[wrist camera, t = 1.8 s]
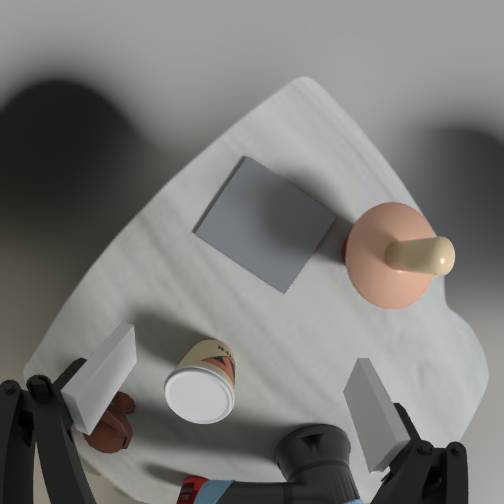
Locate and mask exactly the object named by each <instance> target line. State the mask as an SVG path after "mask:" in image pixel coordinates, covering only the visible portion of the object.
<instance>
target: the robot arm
mask: <svg viewBox="0 0 504 504" xmlns="http://www.w3.org/2000/svg"><path fill="white" fill-rule="evenodd" d="M136 362H137V358H136V346H135V331H134V325H132V324H128V323H125V322H122V323H121V324H120V325H119V327H118V328H117V329H116V330H115V331H114V332H113V333H112V334H111V335H110V336H109V337H108V338H107V339H106V340H105V342H104V343H103V344H102V345H101V346H100V347H99V348H98V349H97V350H96V351H95V352H94V354H93V355H92V356H91V357H90V358H89V359H88V360H86V359H84V358H79V359H77V360H75V361H73V362H72V364H71V365H70V366H69V367H68V368H67V369H66V370H65V371H64V373H62V374H61V375H60V376H59V377H58V379H57V380H56V381H55V382H54V383H53V384H52V383H51V380H50V379H49V378H48V377H47V376H44V375H34V376H32V377H30V378H29V379H28V381H27V383H26V386H27V388H28V391H25V390H22V389H21V387H20V385H19V384H18V382H16V381H14V380H6V381H4V382H3V383H1V385H0V504H33V470H34V453H35V444H36V442H37V448H38V454H39V459H40V464H41V469H42V473H43V477H44V481H45V485H46V488H47V492H48V495H49V498H50V502H51V504H96V501H95V499H94V497H93V494H92V492H91V489H90V487H89V484H88V482H87V479H86V476H85V474H84V471H83V468H82V465H81V462H80V459H79V456H78V452H77V449H76V445H75V442H74V438H73V434H72V431H71V429H70V427H71V425H72V424H73V423H74V425H75V427H76V429H77V430H79V431H81V432H83V433H85V434H87V435H89V436H90V434H91V433H92V431H93V429H94V428H95V426H96V424H97V423H98V421H99V420H100V418H101V416H102V415H103V413H104V412H105V410H106V408H107V407H108V405H109V404H110V402H111V401H112V399H113V397H114V396H115V394H116V393H117V391H118V390H119V388H120V387H121V385H122V383H123V382H124V380H125V379H126V377H127V376H128V374H129V373H130V371H131V370H132V368H133V367H134V365H135V364H136ZM343 393H344V396H345V399H346V401H347V404H348V407H349V410H350V413H351V416H352V419H353V422H354V425H355V428H356V431H357V434H358V438H359V441H360V444H361V447H362V450H363V453H364V457H365V460H366V463H367V466H368V470H369V473H370V474H372V473H378V472H383V471H384V470H385V469H386V468H387V467H388V466H389V467H390V472H389V473H388V474H387V475H386V476H385V477H384V478H383V479H382V480H381V481H383V480H384V479H385V480H384V481H383V483H382V485H381V487H380V488H379V490H378V492H377V493H376V495H375V497H374V498H373V500H372V502H371V503H370V504H468V466H467V454H466V449H465V447H464V446H463V445H462V444H461V443H459V442H451V443H449V445H448V446H447V447H446V448H434V447H433V445H432V444H431V443H430V442H428V441H425V440H421V438H420V436H419V434H418V432H417V431H416V429H415V427H414V425H413V423H412V422H411V419H410V417H409V416H408V414H407V412H406V410H405V408H404V407H403V406H401V405H400V404H399V403H392V401H391V399H390V397H389V395H388V393H387V391H386V389H385V387H384V385H383V384H382V382H381V380H380V378H379V376H378V374H377V372H376V371H375V369H374V367H373V365H372V363H371V362H370V360H369V358H358V359H357V361H356V364H355V366H354V368H353V371H352V373H351V375H350V378H349V380H348V382H347V385H346V387H345V389H344V391H343ZM350 449H351V446H350V442H349V439H348V437H347V435H346V433H345V432H344V431H343V430H342V429H340V428H338V427H335V426H331V425H313V426H308V427H304V428H301V429H298V430H296V431H294V432H292V433H290V434H289V435H287V436H286V437H285V438H283V439H282V440H281V441H280V443H279V444H278V446H277V448H276V452H275V455H276V463H277V466H278V467H279V469H280V470H281V472H282V474H283V476H284V478H285V479H286V481H287V482H240V481H236V480H231V481H228V480H209V481H207V482H206V483H204V484H203V485H202V487H201V488H200V490H199V492H198V494H197V496H196V499H195V501H194V504H363V502H362V500H361V499H360V496H359V493H358V490H357V488H356V485H355V482H354V479H353V477H352V474H351V471H350V468H349V454H350Z"/></svg>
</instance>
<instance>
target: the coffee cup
mask: <svg viewBox="0 0 504 504" xmlns="http://www.w3.org/2000/svg"><path fill="white" fill-rule="evenodd" d="M234 384H235V357H234V354H233V352H232V351H231V349H230V348H229V347H228V346H227V345H225V344H224V343H222V342H220V341H217V340H203V341H200V342H198V343H197V344H195V345H194V346H193V347H192V349H191V350H190V351H189V352H188V353H187V354H186V356H185V357H184V358H183V359H182V361H181V362H180V363H179V364H178V366H177V367H176V368H175V369H174V370H173V371H172V372H171V373H170V374H169V375H168V377H167V379H166V381H165V384H164V394H165V398H166V401H167V403H168V405H169V406H170V408H171V409H172V410H173V411H174V412H175V413H176V414H177V415H179V416H180V417H182V418H183V419H185V420H187V421H190V422H193V423H198V424H210V423H215V422H218V421H220V420H221V419H223V418H224V417H226V416H227V415H228V414H229V413H230V412H231V410H232V408H233V406H234V399H235V398H234Z"/></svg>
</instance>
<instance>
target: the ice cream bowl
mask: <svg viewBox="0 0 504 504" xmlns="http://www.w3.org/2000/svg"><path fill="white" fill-rule="evenodd" d="M112 402H113V405H112V404H109V405H108V407H107V408H106V410H105V412H104V413H103V415H102V416H101V418H100V420H99V421H98V423H97V424H96V426H95V428H94V429H93V431H92V433H91V434H90V436H89V435H87V434H85V433H83V435H84V437H85V440H86V441H87V442H88V444H89V445H90V446H91V447H93V448H95V449H96V450H98V451H100V452H103V453H110V454H111V453H115V452H118V451H119V450H120V449H127V447H128V445H129V443H130V440H131V437H132V428H131V426H130V424H129V422H128V420H127V418H126V416H125V414H129V413H133V412H134V410H135V407H136V406H135V404H134V401H133V400H132V399H131V398H130V397H129V396H128V395H127V394H125V393H122V392H117V393H116V394H115V396H114V397H113V399H112ZM122 412H123V413H122ZM124 413H125V414H124Z"/></svg>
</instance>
